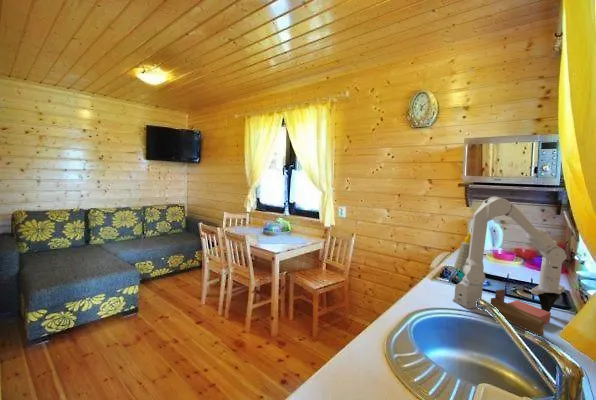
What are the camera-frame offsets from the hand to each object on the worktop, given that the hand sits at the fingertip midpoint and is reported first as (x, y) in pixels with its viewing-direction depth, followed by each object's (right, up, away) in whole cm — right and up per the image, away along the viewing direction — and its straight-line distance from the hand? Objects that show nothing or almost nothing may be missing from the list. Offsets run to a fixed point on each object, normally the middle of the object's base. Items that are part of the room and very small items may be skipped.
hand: (545, 310), depth 114 cm
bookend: (-16, -1, +3) cm, 16 cm away
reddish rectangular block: (-9, -2, -3) cm, 10 cm away
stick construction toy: (-15, +2, +32) cm, 35 cm away
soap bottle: (-3, +4, +49) cm, 49 cm away
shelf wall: (-16, -2, -6) cm, 18 cm away
